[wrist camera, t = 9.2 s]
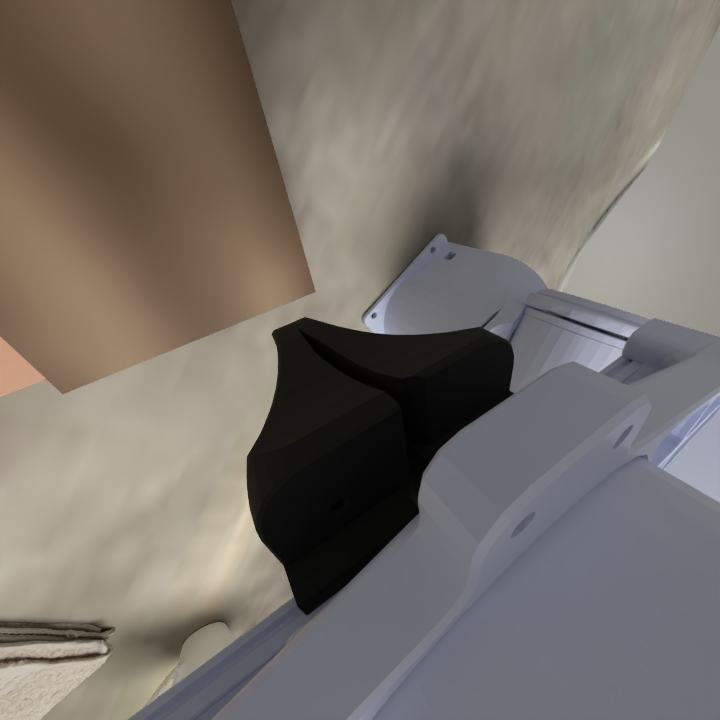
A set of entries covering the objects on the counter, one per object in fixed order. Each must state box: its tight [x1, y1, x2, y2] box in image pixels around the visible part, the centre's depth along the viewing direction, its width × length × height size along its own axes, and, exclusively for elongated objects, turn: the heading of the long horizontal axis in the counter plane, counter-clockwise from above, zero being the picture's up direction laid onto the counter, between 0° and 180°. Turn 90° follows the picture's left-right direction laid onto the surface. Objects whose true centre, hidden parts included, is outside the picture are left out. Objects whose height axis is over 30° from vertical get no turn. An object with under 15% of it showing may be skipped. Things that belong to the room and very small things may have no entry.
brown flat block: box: [0, 0, 315, 394], centre depth 12 cm, size 12×12×4 cm
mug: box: [144, 622, 235, 707], centre depth 28 cm, size 12×8×11 cm
